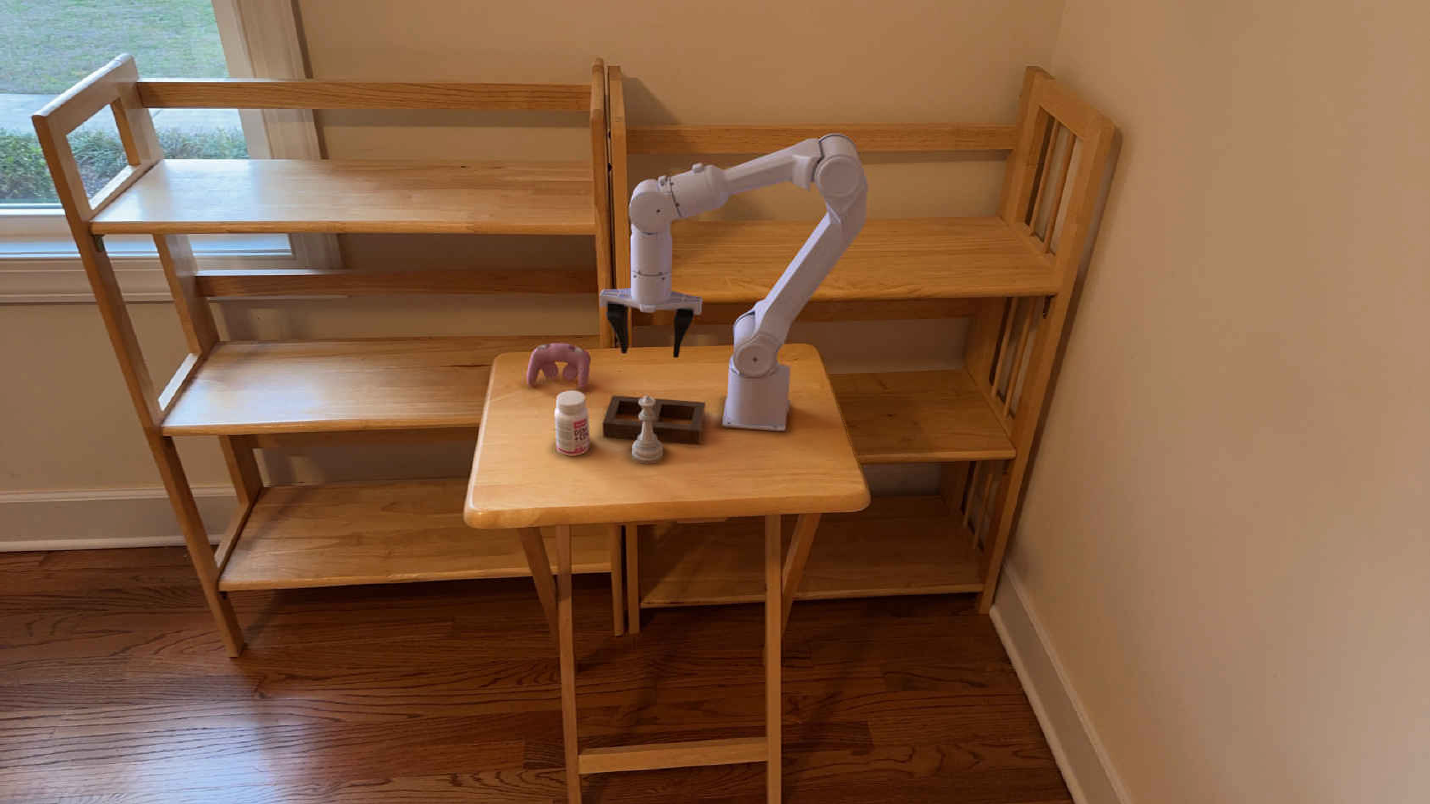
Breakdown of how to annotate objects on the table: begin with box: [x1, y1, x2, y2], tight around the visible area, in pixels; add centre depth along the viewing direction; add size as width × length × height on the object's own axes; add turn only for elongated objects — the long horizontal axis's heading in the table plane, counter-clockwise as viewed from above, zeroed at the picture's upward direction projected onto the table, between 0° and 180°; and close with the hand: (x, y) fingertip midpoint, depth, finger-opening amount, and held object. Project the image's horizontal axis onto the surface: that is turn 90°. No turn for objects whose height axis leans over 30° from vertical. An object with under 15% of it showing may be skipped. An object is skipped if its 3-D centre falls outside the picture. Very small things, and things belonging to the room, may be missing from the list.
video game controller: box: [526, 342, 592, 391], centre depth 152 cm, size 10×5×7 cm, turn 84°
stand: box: [602, 395, 706, 445], centre depth 142 cm, size 14×8×2 cm, turn 85°
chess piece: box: [631, 395, 664, 464], centre depth 134 cm, size 4×4×10 cm
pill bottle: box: [554, 390, 590, 457], centre depth 136 cm, size 5×5×8 cm
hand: (650, 352), depth 141 cm, fingers open, 7 cm apart
